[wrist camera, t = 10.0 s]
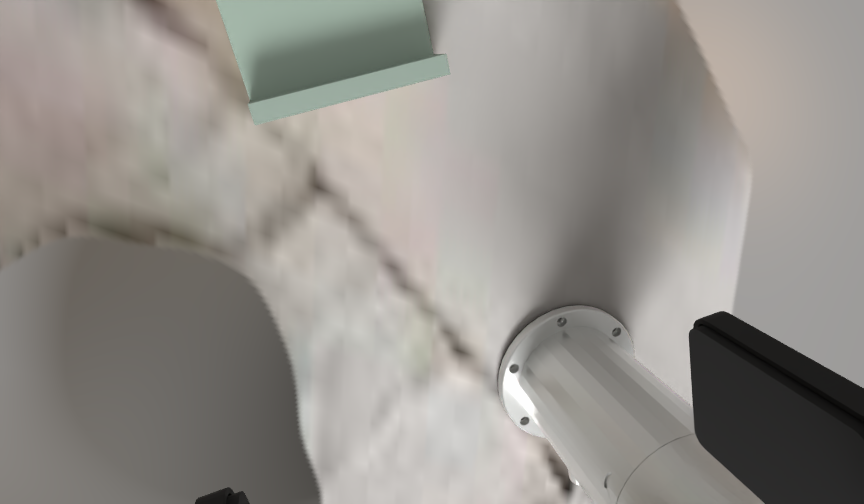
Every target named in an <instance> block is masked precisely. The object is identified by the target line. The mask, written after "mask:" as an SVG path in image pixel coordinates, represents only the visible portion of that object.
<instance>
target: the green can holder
mask: <svg viewBox="0 0 864 504" xmlns="http://www.w3.org/2000/svg"><path fill="white" fill-rule="evenodd" d="M216 2H217V5H218V7H219V10H220V13H221V16H222V19H223V22H224V25H225V28H226V31H227V34H228V37H229V40H230V43H231V46H232V49H233V52H234V55H235V57H236V60H237V63H238V66H239V69H240V72H241V75H242V78H243V81H244V84H245V87H246V90H247V93H248V96H249V99H250V102H249V103H248V106H249V109H250V112H251V115H252V118H253V121H254V124H255V125H258V124H262V123H265V122H269V121H273V120H277V119H281V118H285V117H288V116H292V115H296V114H300V113H304V112H308V111H311V110H315V109H319V108H323V107H327V106H331V105H334V104H338V103H342V102H346V101H350V100H354V99H357V98H361V97H365V96H369V95H373V94H376V93H380V92H384V91H388V90H392V89H396V88H399V87H403V86H407V85H411V84H415V83H419V82H422V81H426V80H430V79H434V78H438V77H442V76H445V75H449V74H450V70H449V65H448V60H447V55H446V54H433V49H432V44H431V40H430V35H429V30H428V26H427V21H426V16H425V12H424V7H423V2H422V0H216Z"/></svg>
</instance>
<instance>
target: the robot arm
mask: <svg viewBox="0 0 864 504" xmlns="http://www.w3.org/2000/svg"><path fill="white" fill-rule="evenodd" d="M689 347H690V364H691V381H692V398H693V407H692V406H691V405H690V404H689V403H688V402H686V401H685V400H684V399H683V398H682V397H680V396H679V395H678V394H677V393H676V392H674V391H673V390H672V389H671V388H670V387H668V386H667V385H666V384H665V383H664V382H662V381H661V380H660V379H659V378H658V377H656V376H655V375H654V374H653V373H652V372H650V371H649V370H648V369H647V368H646V367H644V366H643V365H642V364H641V363H640V362H638V361H637V360H636V359H635V352H634V347H633V342H632V340H631V338H630V336H629V333H628V331H627V330H626V329H625V328H624V326H623V325H622V324H621V323H620V322H619V321H618V320H616V319H615V318H614V317H613V316H612V315H610V314H608V313H606V312H605V311H603V310H601V309H598V308H595V307H591V306H582V305H575V306H566V307H562V308H559V309H555V310H552V311H550V312H548V313H546V314H544V315H542V316H540V317H538V318H537V319H536V320H534V321H533V322H531V323H530V324H529V325H527V326H526V327H525V328H524V329H523V330H522V331H521V332H520V333H519V334H518V335H517V337H516V338H515V339H514V341H513V342H512V343H511V345H510V346H509V348H508V350H507V352H506V354H505V356H504V358H503V360H502V363H501V367H500V370H499V377H498V391H499V397H500V400H501V403H502V406H503V408H504V409H505V411H506V413H507V414H508V416H509V417H510V419H511V420H512V421H513V422H514V424H515V425H516V426H518V427H519V428H520V429H522V430H523V431H524V432H526V433H529V434H531V435H533V436H537V437H542V438H547V439H548V441H549V442H550V444H551V445H552V447H553V448H554V449H555V451H556V452H557V454H558V455H559V456H560V458H561V459H562V461H563V462H564V463H565V465H566V466H567V468H568V472H569V478H570V480H571V481H572V482H573V483H575V484H577V485H580V486H581V487H582V489H583V490H584V492H585V493H586V494H587V496H588V497H589V499H590V500H591V501H592V503H593V504H864V388H862V387H860V386H858V385H856V384H854V383H853V382H851V381H849V380H847V379H846V378H844V377H842V376H840V375H838V374H837V373H835V372H833V371H831V370H830V369H828V368H826V367H824V366H822V365H821V364H819V363H817V362H815V361H814V360H812V359H810V358H808V357H806V356H805V355H803V354H801V353H799V352H797V351H795V350H794V349H792V348H790V347H788V346H787V345H784V344H783V343H781V342H779V341H778V340H776V339H774V338H772V337H771V336H769V335H767V334H765V333H763V332H762V331H760V330H758V329H756V328H754V327H753V326H751V325H749V324H747V323H745V322H744V321H742V320H740V319H738V318H736V317H735V316H733V315H731V314H729V313H727V312H724V311H721V312H717V313H714V314H712V315H709V316H706V317H703V318H700V319H698V320H696V321H695V323H694V327H693V329H692V330H690V332H689ZM195 504H249V502H248V499H247V497H246V495H245V493H244V492H243V491H241V492H238V493H235V494H234V492H233V490H232V489H231V488H225V489H222V490H219V491H216V492H214V493H211V494H208V495H205V496H202V497H200V498H198V499H197V500H196V502H195Z"/></svg>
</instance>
